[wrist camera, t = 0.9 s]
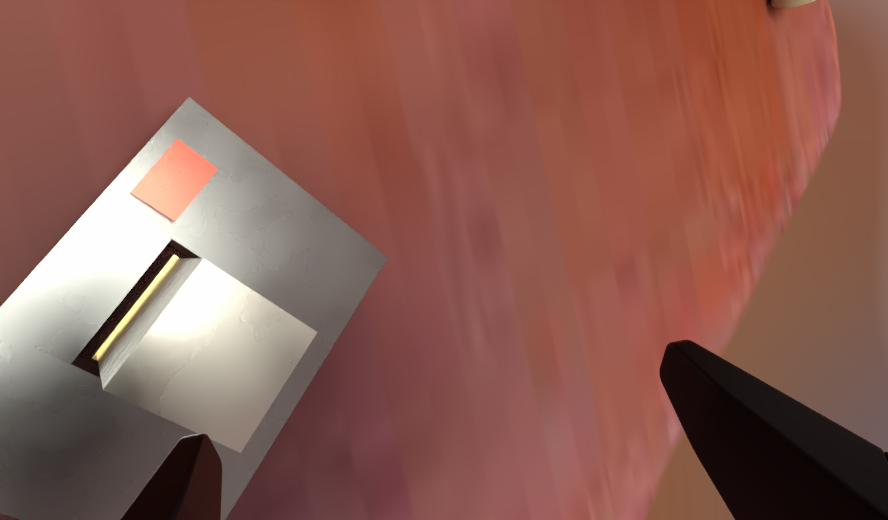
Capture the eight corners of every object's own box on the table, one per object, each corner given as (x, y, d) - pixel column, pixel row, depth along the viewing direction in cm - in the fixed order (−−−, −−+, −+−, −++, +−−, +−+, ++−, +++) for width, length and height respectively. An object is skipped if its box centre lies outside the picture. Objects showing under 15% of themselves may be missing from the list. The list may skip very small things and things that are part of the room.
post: (193, 399, 21) (241, 457, 15) (90, 348, 19) (95, 391, 13) (255, 311, 22) (321, 331, 16) (165, 254, 20) (202, 253, 14)
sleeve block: (181, 542, 20) (195, 580, 18) (-116, 441, 16) (-151, 474, 13) (362, 257, 25) (393, 257, 23) (177, 113, 20) (191, 93, 18)
